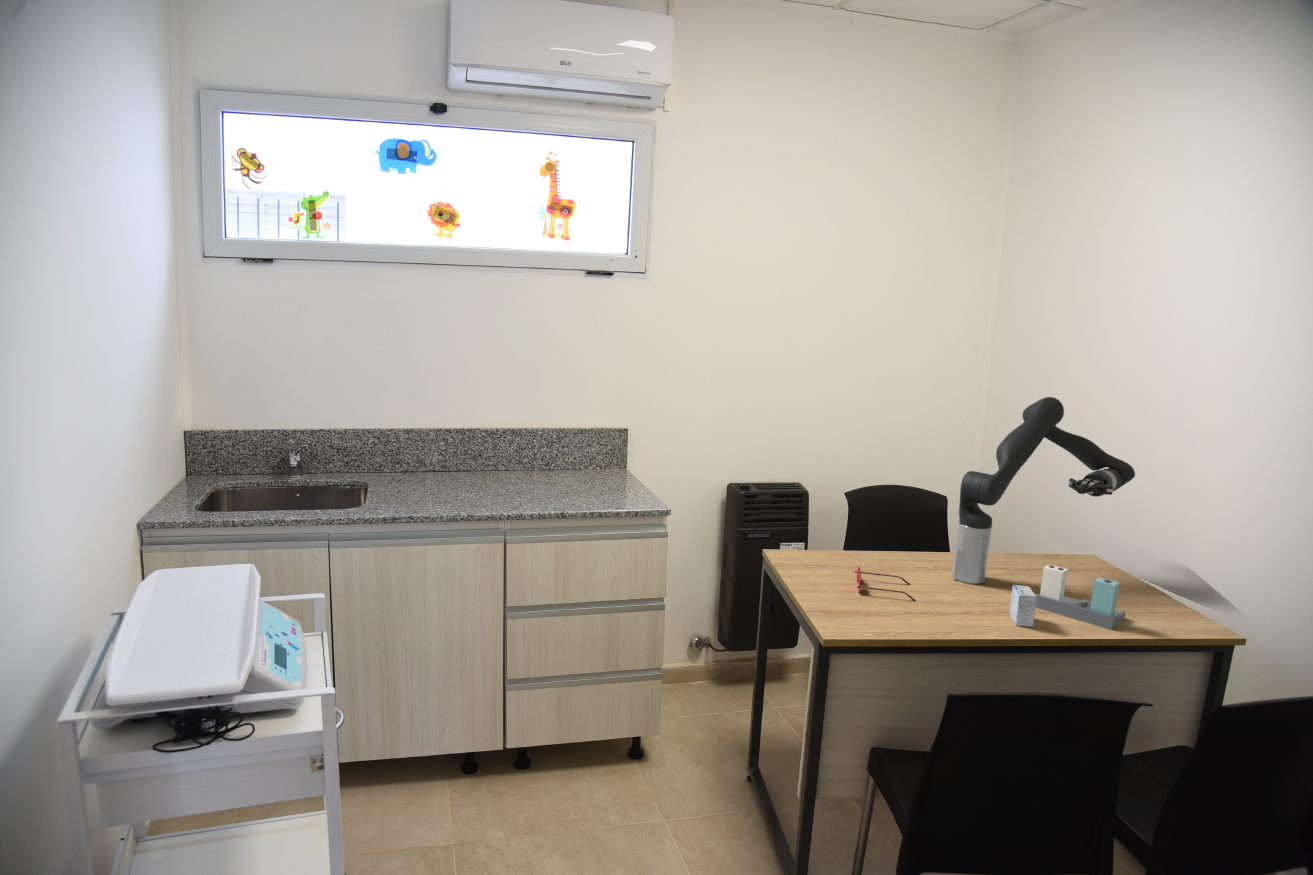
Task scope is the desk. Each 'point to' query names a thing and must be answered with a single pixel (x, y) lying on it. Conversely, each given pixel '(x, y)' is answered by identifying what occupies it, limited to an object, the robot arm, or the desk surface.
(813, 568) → the desk surface
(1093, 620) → the gray divided tray
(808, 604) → the desk surface
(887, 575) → the glasses
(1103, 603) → the teal block
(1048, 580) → the white battery block
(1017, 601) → the medicine box
